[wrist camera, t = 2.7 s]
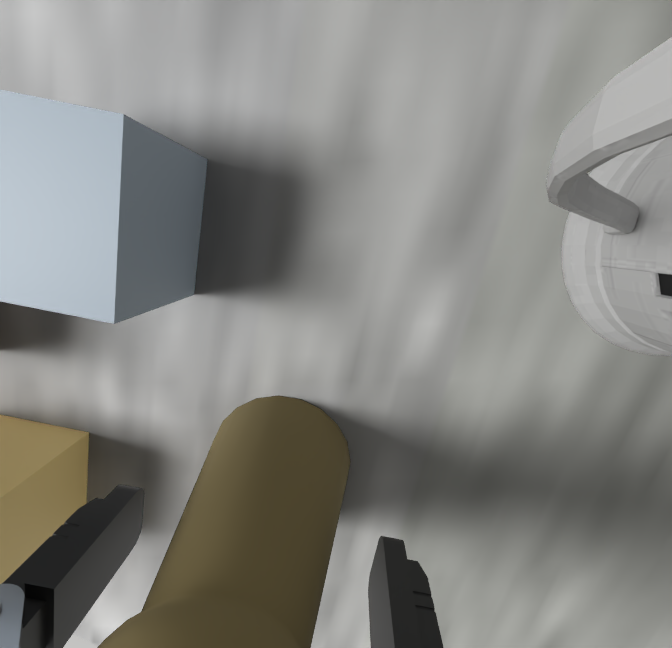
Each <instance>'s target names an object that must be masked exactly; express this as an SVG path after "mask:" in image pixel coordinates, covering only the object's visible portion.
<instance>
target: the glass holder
mask: <svg viewBox="0 0 672 648" xmlns="http://www.w3.org/2000/svg"><path fill="white" fill-rule="evenodd" d="M591 170H592V172H591V173H590V174H589V175H588V174H587V173H588V172H589V171H591ZM546 186H547V192H548V197H549V202H551V203H553V204H555V205H557V206H559V207H561V208H563V209H565V210H568V211H570V212H569V215H568V218H567V221H566V224H565V230H564V235H563V241H562V271H563V276H564V282H565V287H566V289H567V292H568V294H569V297H570V299H571V302H572V304H573V306H574V307H575V309H576V310H577V312H578V313H579V315H580V316H581V318H582V319H583V320H584V321H585V322H586V323H587V324H588V325H589V326H590V327H591V328H592V329H593V330H594V331H595V332H596V333H597V334H599V335H600V336H602V337H603V338H605V339H606V340H608V341H609V342H611V343H613V344H615V345H617V346H620V347H622V348H625V349H627V350H630V351H635V352H639V353H644V354H648V355H661V356H672V37H671V38H670V39H668V40H667V41H665V42H664V43H662V44H661V45H659V46H658V47H656V48H655V49H653V50H652V51H651V52H649V53H648V54H646V55H645V56H643V57H642V58H640V59H639V60H637V61H636V62H635V63H633V64H632V65H630V66H629V67H627V68H626V69H624V70H623V71H621V72H620V73H619V74H617V75H616V76H614V77H613V78H612V79H611V80H610V81H609V82H608V83H607V84H606V85H605V86H604V87H603V88H602V89H601V90H600V91H599V92H598V93H597V94H596V95H595V96H594V97H593V98H592V99H591V100H590V101H589V102H588V103H587V104H586V105H585V106H584V107H583V108H582V109H581V110H580V112H579V113H578V114H577V115H576V116H575V117H574V118H573V119H572V120H571V121H570V122H569V123H568V124H567V126H566V127H565V129H564V131H563V132H562V134H561V136H560V138H559V141H558V143H557V146H556V148H555V151H554V153H553V156H552V159H551V162H550V166H549V170H548V174H547V179H546Z"/></svg>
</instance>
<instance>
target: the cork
mask: <svg viewBox="0 0 672 648" xmlns="http://www.w3.org/2000/svg"><path fill="white" fill-rule="evenodd" d="M349 467H350V456H349V450H348V444H347V441H346V439H345V437H344V436H343V434H342V432H341V430H340V428H339V427H338V425H337V423H335V422H334V421H333V420H332V419H331V418H330V417H329V416H328V415H327V414H326V413H325V412H324V411H323V410H321V409H320V408H318V407H316V406H313V405H311V404H309V403H307V402H305V401H303V400H301V399H296V398H289V397H283V396H272V397H264V398H257V399H254V400H252V401H250V402H248V403H246V404H244V405H242V406H239V407H237V408H236V409H235V410H234V411H233V412H232V413H231V414H230V415H229V416H228V417H227V418H226V419H225V420H224V421H223V422H222V424H221V426H220V428H219V430H218V432H217V434H216V437H215V439H214V441H213V443H212V446H211V448H210V450H209V453H208V455H207V458H206V460H205V462H204V465H203V467H202V469H201V472H200V474H199V476H198V479H197V481H196V484H195V486H194V488H193V491H192V493H191V495H190V498H189V500H188V502H187V505H186V507H185V510H184V512H183V514H182V517H181V519H180V521H179V524H178V526H177V528H176V531H175V533H174V536H173V538H172V540H171V543H170V545H169V547H168V550H167V552H166V554H165V557H164V559H163V562H162V564H161V566H160V569H159V571H158V573H157V576H156V578H155V580H154V583H153V585H152V588H151V590H150V592H149V595H148V597H147V599H146V602H145V604H144V606H143V609H142V611H141V613H139V614H137V615H135V616H134V617H132V618H130V619H128V620H127V621H125V622H124V623H123V624H122V625H121V626H120V627H119V628H117V629H116V630H115V631H114V632H113V633H112V634H111V635H109V636H108V637H107V638H106V639H105V640H104V641H103V642H102V643H101V644H100V645H99V646H98V648H310V647H311V643H312V638H313V633H314V629H315V624H316V620H317V615H318V611H319V606H320V601H321V597H322V592H323V588H324V583H325V579H326V574H327V569H328V565H329V560H330V556H331V551H332V547H333V542H334V537H335V533H336V528H337V524H338V519H339V514H340V510H341V505H342V501H343V496H344V492H345V487H346V482H347V477H348V472H349Z"/></svg>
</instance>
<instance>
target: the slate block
mask: <svg viewBox="0 0 672 648" xmlns="http://www.w3.org/2000/svg"><path fill="white" fill-rule="evenodd" d="M207 161H208V159H206V158H204V157H202V156H200V155H198V154H196V153H195V152H193V151H191V150H189V149H187V148H185V147H183V146H182V145H180V144H178V143H176V142H174V141H172V140H170V139H169V138H167V137H165V136H163V135H161V134H159V133H157V132H156V131H154V130H152V129H150V128H148V127H146V126H144V125H143V124H141V123H139V122H137V121H135V120H133V119H131V118H130V117H128V116H126V115H124V114H120V113H115V112H110V111H105V110H100V109H95V108H90V107H85V106H80V105H75V104H70V103H65V102H60V101H55V100H50V99H45V98H40V97H35V96H30V95H25V94H20V93H15V92H10V91H5V90H0V301H1V302H6V303H11V304H16V305H21V306H26V307H32V308H37V309H42V310H47V311H52V312H57V313H62V314H67V315H72V316H77V317H82V318H87V319H92V320H97V321H102V322H108V323H113V324H115V323H118V322H120V321H123V320H126V319H129V318H131V317H134V316H137V315H140V314H142V313H145V312H148V311H151V310H153V309H156V308H159V307H161V306H164V305H167V304H170V303H172V302H175V301H178V300H181V299H183V298H186V297H189V296H192V295H194V291H195V281H196V271H197V261H198V251H199V241H200V231H201V221H202V211H203V201H204V191H205V181H206V171H207Z"/></svg>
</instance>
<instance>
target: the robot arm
mask: <svg viewBox="0 0 672 648" xmlns="http://www.w3.org/2000/svg"><path fill="white" fill-rule="evenodd" d="M143 505H144V489H142V488H137V487H132V486H127V485H118V486H117V487H116V488H115V489H114V490H113V491H112V492H111V493H110V494H109V495H108V496H107V497H106V498H105V499H99V498H96V499H94V500H92V501H90V502H89V503H87V504H85V505H83V506H82V507H80V508H78V509H77V510H76V511H75V512H74V513H73V514H72V515H71V516H70V517H69V518H68V519H67V520H66V521H65V523H64V525H61V526H60V527H59V528H58V529H57V530H56V531H55V532H54V533H53V535H52V536H50V537H49V538H48V539H47V540H46V541H45V542H44V543H43V544H42V545H41V546H40V547H39V548H38V549H37V550H36V551H35V552H34V553H33V554H32V555H31V556H30V557H29V558H28V559H27V560H26V561H25V562H24V563H23V564H22V565H21V566H20V567H18V568H17V569H16V570H15V571H14V572H13V573H12V574H11V575H10V576H9V577H8V578H7V579H6V580H5V581H4V582H3V583H2V584H0V648H63V647H64V645H65V644H66V642H67V641H68V639H69V638H70V637H71V635H72V634H73V633H74V631H75V630H76V628H77V627H78V625H79V624H80V623H81V621H82V620H83V618H84V617H85V616H86V614H87V613H88V611H89V610H90V608H91V607H92V606H93V604H94V603H95V601H96V600H97V599H98V597H99V596H100V594H101V593H102V591H103V590H104V589H105V587H106V586H107V584H108V583H109V582H110V580H111V579H112V577H113V576H114V574H115V573H116V572H117V570H118V569H119V567H120V566H121V565H122V563H123V562H124V560H125V559H126V557H127V556H128V555H129V553H130V552H131V550H132V549H133V547H134V546H135V544H136V542H137V540H138V538H139V535H140V532H141V528H142V517H143ZM368 598H369V618H370V638H371V648H443V644H442V639H441V635H440V631H439V626H438V622H437V617H436V613H435V612H434V604H433V600H432V598H431V591H430V587H429V582H428V578H427V576H426V574H425V572H424V571H423V569H422V568H421V566H420V564H419V563H418V561H413V560H408V559H407V556H406V550H405V545H404V541H403V540H399V539H394V538H389V537H384V536H381V537H380V538H379V542H378V545H377V549H376V553H375V557H374V560H373V564H372V568H371V572H370V577H369V587H368Z"/></svg>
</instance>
